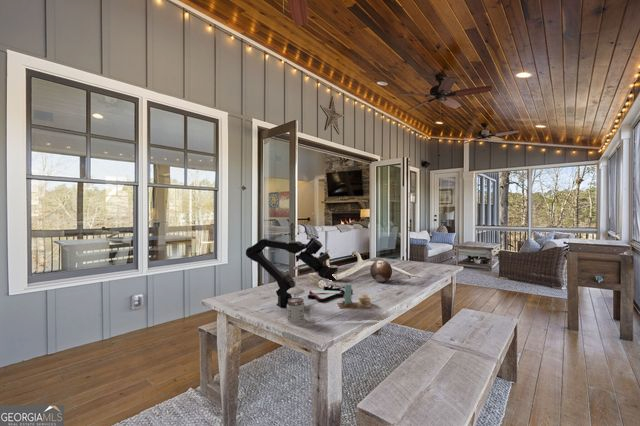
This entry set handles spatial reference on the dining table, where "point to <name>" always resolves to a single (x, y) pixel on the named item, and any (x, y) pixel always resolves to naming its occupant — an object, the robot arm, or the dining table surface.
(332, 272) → the coffee mug
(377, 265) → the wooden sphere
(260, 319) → the dining table surface
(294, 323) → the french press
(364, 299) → the rack
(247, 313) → the dining table surface
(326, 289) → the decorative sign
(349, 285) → the plank
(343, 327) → the dining table surface
